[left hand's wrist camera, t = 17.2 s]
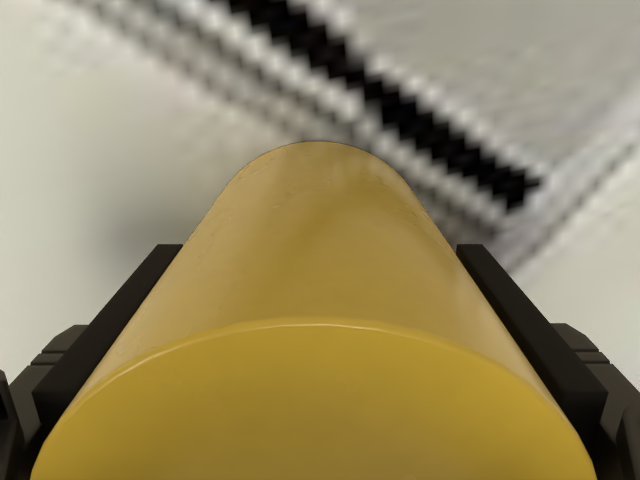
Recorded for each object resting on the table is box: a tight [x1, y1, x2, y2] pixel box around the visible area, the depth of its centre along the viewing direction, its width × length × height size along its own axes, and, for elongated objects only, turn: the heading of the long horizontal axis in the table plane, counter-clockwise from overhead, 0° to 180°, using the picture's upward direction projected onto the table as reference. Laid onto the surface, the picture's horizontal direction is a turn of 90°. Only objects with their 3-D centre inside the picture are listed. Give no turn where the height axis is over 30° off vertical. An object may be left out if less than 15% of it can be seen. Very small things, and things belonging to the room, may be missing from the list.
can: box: [30, 141, 597, 480], centre depth 12 cm, size 8×8×11 cm
